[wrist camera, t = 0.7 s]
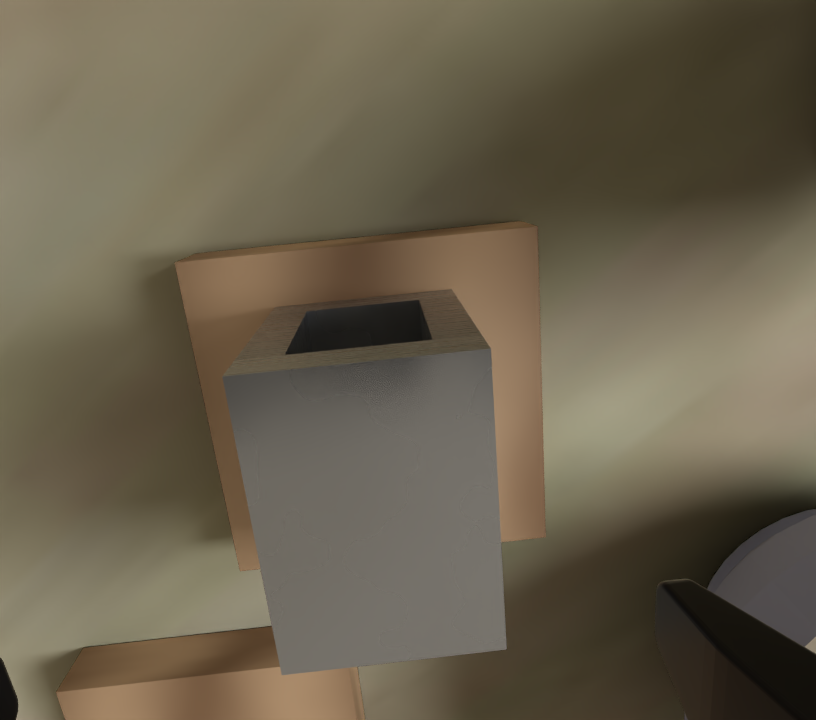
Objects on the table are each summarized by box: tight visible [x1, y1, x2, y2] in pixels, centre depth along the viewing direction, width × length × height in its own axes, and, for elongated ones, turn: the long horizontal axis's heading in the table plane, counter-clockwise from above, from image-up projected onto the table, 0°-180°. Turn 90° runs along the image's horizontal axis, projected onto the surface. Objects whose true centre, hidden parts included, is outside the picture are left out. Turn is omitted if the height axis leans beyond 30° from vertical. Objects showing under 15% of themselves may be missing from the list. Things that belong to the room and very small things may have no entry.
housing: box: [222, 289, 507, 675], centre depth 15 cm, size 5×7×6 cm
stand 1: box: [175, 221, 546, 571], centre depth 19 cm, size 10×10×2 cm
